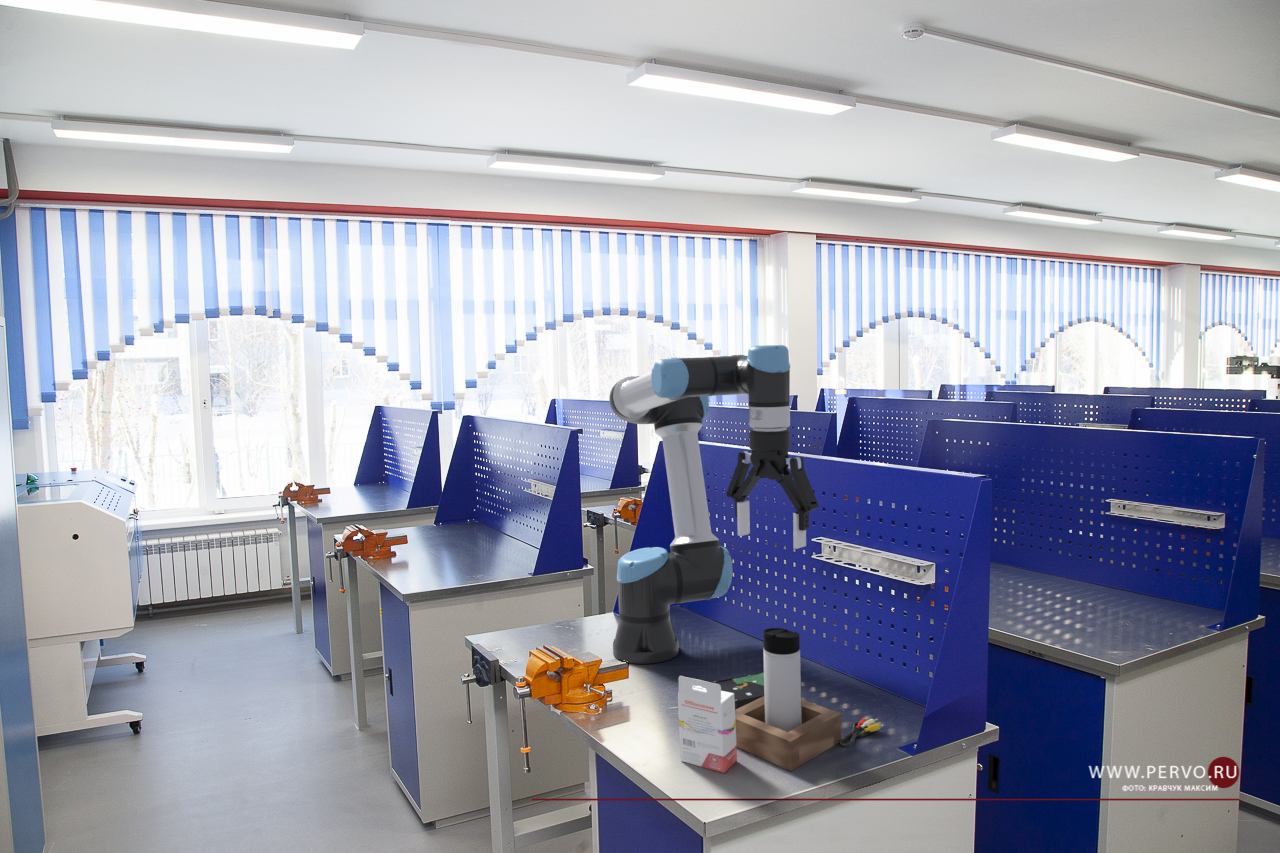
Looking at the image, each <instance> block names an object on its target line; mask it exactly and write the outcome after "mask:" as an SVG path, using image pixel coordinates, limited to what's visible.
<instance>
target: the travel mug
mask: <svg viewBox="0 0 1280 853" xmlns="http://www.w3.org/2000/svg"><path fill="white" fill-rule="evenodd" d="M762 638H763V639H762V640H763V641H762V642H763V648H762V650H763V653H762V654H763V673H764V696H765V723H766V724H769V725H771V726H774V727H776V728H779V729H781V730H783V731H786V732H789V731H791V730H793V729H795V728H797V727H798V726H800V725H802V714H801V699H802V687H801V686H802V679H801V678H802V676H801V675H802V674H801V671H802V670H801V647H800V646H801V645H800V641H801V640H800V633H799V632H798V631H791V630H789V629H786V628H783V627H780V628H779V627H772V628H771V627H770V628H769V627H768V628H765V629H763V631H762Z"/></svg>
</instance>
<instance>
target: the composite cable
mask: <svg viewBox="0 0 1280 853" xmlns="http://www.w3.org/2000/svg"><path fill="white" fill-rule="evenodd" d="M877 722H879V719H878V718H875V719H874V718H870V717H868V716H867V717H863V718H861V720H859V721H855V722H853V725H852V731H851V732H850V733H848V734H847V735H846V736H844V737H841V740H840V742H839V744H840V747H842V748H846V749H847V748H848V749H849V748H852V747H853V746H854V745H855V743H856V742H855V741H856V739H857V738H861V737H865V736H868V735H870V734H872V732H873V733H874V732H877V731H880V730H881V728H884V724H879V723H877ZM847 741H849V742H847Z"/></svg>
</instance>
